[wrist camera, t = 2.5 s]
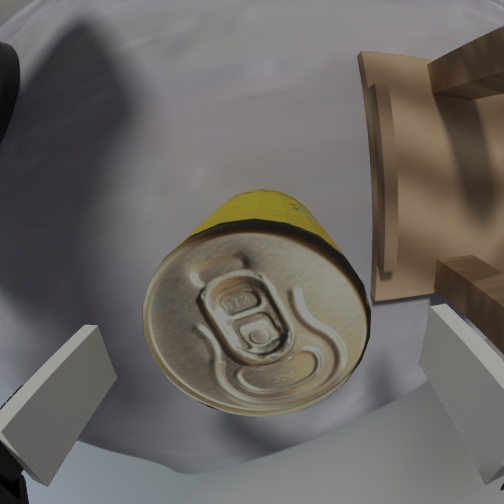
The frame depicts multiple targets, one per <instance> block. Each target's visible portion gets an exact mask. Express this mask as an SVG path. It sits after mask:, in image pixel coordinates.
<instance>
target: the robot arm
mask: <svg viewBox="0 0 504 504" xmlns="http://www.w3.org/2000/svg"><path fill="white" fill-rule="evenodd" d="M17 85H18V59H17V55H16V52H15V50H14V49H13V47H12V46H10V45H9V44H6V43H3V42H0V141H1V139H2V137H3V135H4V132H5V130H6V127H7V125H8V122H9V119H10V116H11V113H12V109H13V105H14V101H15V97H16V91H17ZM419 365H420V367H421V369H422V370H423V372H424V373H425V375H426V377H427V378H428V380H429V382H430V383H431V385H432V387H433V388H434V390H435V392H436V393H437V395H438V397H439V398H440V400H441V402H442V403H443V405H444V407H445V409H446V410H447V412H448V414H449V416H450V417H451V419H452V421H453V423H454V424H455V427H456V428H457V430H458V432H459V434H460V435H461V438H462V439H463V441H464V443H465V445H466V447H467V449H468V451H469V453H470V455H471V457H472V459H473V461H474V463H475V465H476V467H477V469H478V471H479V473H480V475H481V477H482V479H483V482H484V484H485V485H487V484H489V483H491V482H492V481H494V480H496V479H498V478H500V477H501V476H503V475H504V361H503V360H502V359H501V358H500V357H499V356H498V355H497V354H496V353H495V352H494V351H493V349H491V348H490V346H489V345H487V343H486V342H485V341H484V340H483V339H482V338H481V337H480V336H479V335H478V334H477V333H476V332H475V331H474V330H473V329H472V328H471V327H470V326H469V325H468V324H467V323H466V322H465V321H464V320H463V319H462V318H460V317H459V316H458V315H457V314H456V313H455V312H454V311H453V310H452V309H451V308H450V307H449V306H448V305H447V304H441V305H435V306H430V310H429V316H428V322H427V327H426V333H425V338H424V343H423V347H422V352H421V356H420V361H419ZM116 379H117V375H116V373H115V370H114V368H113V365H112V363H111V360H110V358H109V355H108V352H107V349H106V347H105V344H104V341H103V338H102V335H101V332H100V329H99V326H98V325H84V326H83V327H82V328H80V329H79V330H78V331H77V332H76V333H75V334H74V335H73V336H72V337H71V338H70V339H69V340H68V341H67V342H66V343H65V344H64V345H63V346H62V347H61V348H60V349H59V350H58V351H57V352H56V353H55V354H54V355H53V356H52V357H51V358H50V359H49V360H48V361H47V362H46V363H45V364H44V365H43V366H42V367H41V368H40V369H39V370H38V371H37V372H36V373H35V374H34V375H33V376H32V377H31V378H30V379H29V380H28V381H27V382H26V383H25V384H24V385H22V386H20V387H19V388H18V389H17V390H16V392H15V393H14V394H13V396H11V397H10V398H9V399H8V400H7V403H4V404H3V405H2V407H1V408H0V504H29V501H28V495H27V488H26V481H25V478H24V476H23V475H22V474H21V472H22V471H23V470H25V471H26V472H27V473H28V475H29V476H30V477H31V478H32V479H33V480H35V481H37V482H39V483H41V484H43V485H45V486H47V487H48V486H49V484H50V482H51V481H52V479H53V478H54V476H55V474H56V473H57V471H58V469H59V468H60V466H61V464H62V463H63V461H64V459H65V458H66V456H67V455H68V453H69V451H70V450H71V448H72V447H73V445H74V443H75V442H76V440H77V439H78V437H79V436H80V434H81V432H82V431H83V429H84V428H85V426H86V425H87V423H88V421H89V420H90V418H91V417H92V415H93V414H94V412H95V411H96V409H97V408H98V406H99V405H100V403H101V402H102V400H103V399H104V397H105V395H106V394H107V392H108V391H109V389H110V388H111V386H112V385H113V384H114V382H115V381H116ZM503 489H504V484H503V485H502V487H501V489H500V490H503Z"/></svg>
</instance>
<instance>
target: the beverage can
mask: <svg viewBox="0 0 504 504" xmlns="http://www.w3.org/2000/svg"><path fill="white" fill-rule="evenodd" d="M142 311H143V327H144V335H145V338H146V341H147V344H148V346H149V349H150V352H151V354H152V357H153V358H154V360H155V361H156V363H157V364H158V366H159V367H160V369H161V370H162V372H163V373H164V374H165V376H166V377H167V378H168V379H169V380H170V381H171V382H172V383H173V384H175V385H176V386H177V387H178V388H179V389H180V390H181V391H182V392H184V393H185V394H186V395H188V396H190V397H191V398H193V399H195V400H197V401H198V402H200V403H202V404H204V405H206V406H208V407H211V408H214V409H217V410H220V411H223V412H226V413H229V414H235V415H242V416H251V417H265V416H278V415H284V414H288V413H292V412H295V411H299V410H302V409H306V408H308V407H310V406H312V405H314V404H316V403H318V402H319V401H321V400H323V399H325V398H327V397H329V396H330V395H331V394H332V393H333V392H335V391H336V390H337V389H338V388H339V387H340V386H342V385H343V384H344V383H345V382H346V381H347V380H348V379H349V377H350V376H351V375H352V373H353V372H354V370H355V369H356V368H357V366H358V365H359V363H360V362H361V360H362V358H363V355H364V352H365V350H366V347H367V344H368V341H369V338H370V326H371V309H370V305H369V301H368V298H367V294H366V291H365V288H364V284H363V283H362V281H361V280H360V278H359V277H358V275H357V274H356V272H355V271H354V269H353V268H352V266H351V265H350V263H349V262H348V260H347V259H346V258H345V256H344V255H343V254H342V252H341V251H340V250H339V248H338V247H337V246H336V244H335V243H334V242H333V241H332V239H331V238H330V237H329V235H328V234H327V233H326V232H325V230H324V229H323V228H322V227H321V225H320V224H319V223H318V222H317V220H316V219H315V218H314V217H313V215H312V214H311V213H310V212H309V210H308V209H307V208H306V207H305V206H304V205H302V204H301V203H300V202H298V201H297V200H296V199H295V198H293V197H291V196H288V195H286V194H283V193H281V192H278V191H271V190H255V191H248V192H244V193H242V194H240V195H237V196H235V197H233V198H231V199H229V200H228V201H227V202H226V203H225V204H223V205H222V206H221V207H220V208H218V209H217V210H216V211H215V212H214V213H213V214H212V215H211V216H209V217H208V218H207V219H206V220H205V221H204V222H203V223H202V224H201V225H200V226H199V227H197V228H196V229H195V230H194V231H193V232H192V233H191V234H190V235H189V236H188V237H187V238H186V239H184V240H183V241H182V242H181V243H180V244H179V245H178V246H177V247H176V248H175V249H174V250H173V251H172V252H171V253H170V254H169V255H168V256H166V257H165V258H164V259H163V261H162V263H161V264H160V266H159V267H158V269H157V270H156V272H155V274H154V275H153V277H152V279H151V280H150V282H149V284H148V288H147V292H146V296H145V300H144V304H143V308H142Z"/></svg>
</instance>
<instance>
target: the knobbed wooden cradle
mask: <svg viewBox="0 0 504 504" xmlns="http://www.w3.org/2000/svg"><path fill="white" fill-rule="evenodd" d="M357 58H358V64H359V69H360V75H361V82H362V88H363V95H364V103H365V110H366V119H367V128H368V139H369V150H370V164H371V182H372V213H373V248H372V279H371V296H372V298H373V299H374V300H375V301H381V300H389V299H396V298H404V297H411V296H418V295H425V294H431V293H437V292H439V293H441V294H442V295H443V296H444V297H445V298H446V299H447V300H448V301H449V302H451V303H452V304H453V305H454V306H455V307H456V308H457V309H458V310H459V311H460V312H461V313H462V314H463V315H465V316H466V317H467V318H468V319H469V320H470V321H471V322H472V323H473V324H474V325H475V326H476V327H477V328H478V329H479V330H480V331H481V332H482V333H483V334H484V335H485V336H486V337H487V338H488V339H489V340H490V341H492V343H493V344H494V345H495V346H496V347H497V348H498V349H499V350H500V351H501V352H502V353H503V354H504V26H503V27H501V28H499V29H496V30H494V31H492V32H490V33H488V34H486V35H483V36H481V37H479V38H477V39H475V40H473V41H471V42H469V43H467V44H465V45H463V46H461V47H459V48H457V49H455V50H453V51H451V52H450V53H448V54H446V55H444V56H442V57H440V58H438V59H436V60H429V59H423V58H418V57H411V56H405V55H398V54H390V53H381V52H370V51H361V52H360V53H359V54H358V55H357Z"/></svg>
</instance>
